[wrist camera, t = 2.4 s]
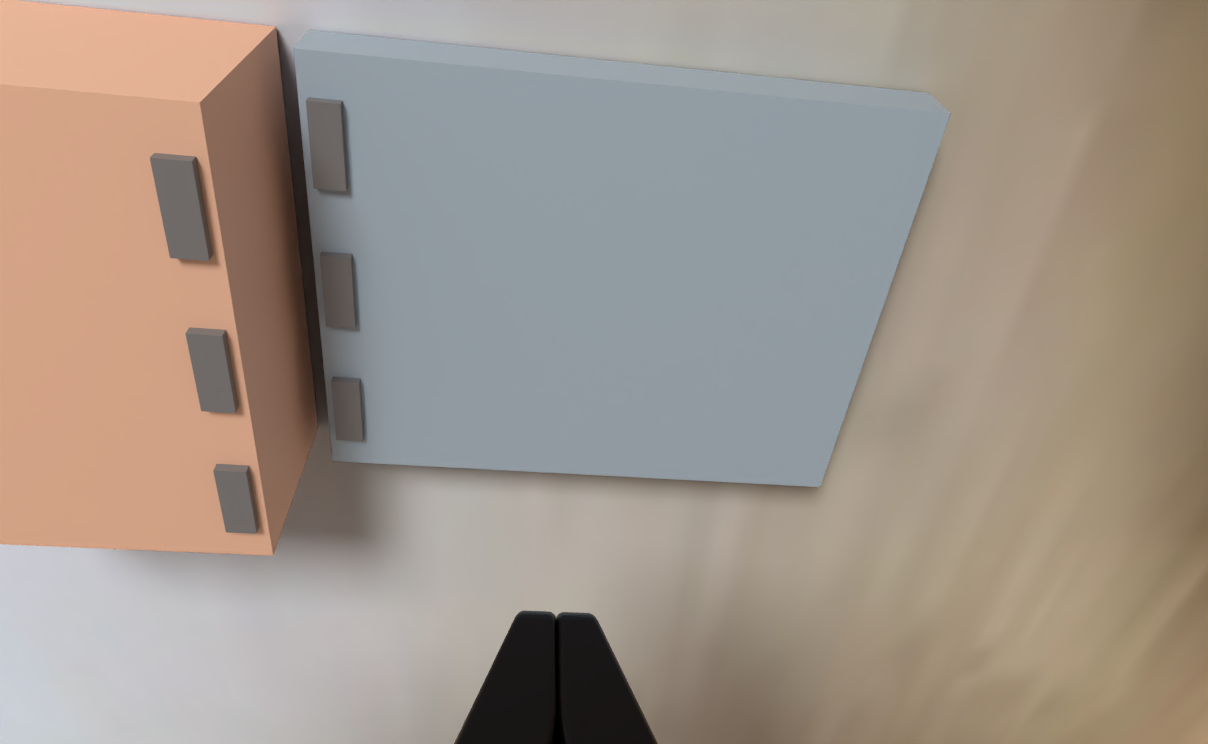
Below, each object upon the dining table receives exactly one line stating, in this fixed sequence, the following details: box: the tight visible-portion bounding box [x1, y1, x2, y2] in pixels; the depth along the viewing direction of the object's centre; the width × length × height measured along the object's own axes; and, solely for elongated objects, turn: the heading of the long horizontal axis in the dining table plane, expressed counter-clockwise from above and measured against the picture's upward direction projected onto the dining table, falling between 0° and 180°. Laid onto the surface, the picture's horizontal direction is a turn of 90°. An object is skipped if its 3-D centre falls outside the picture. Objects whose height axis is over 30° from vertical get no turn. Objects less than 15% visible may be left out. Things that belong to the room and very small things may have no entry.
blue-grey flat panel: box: [293, 30, 951, 487], centre depth 16 cm, size 10×8×1 cm
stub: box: [0, 0, 318, 556], centre depth 14 cm, size 6×8×4 cm
